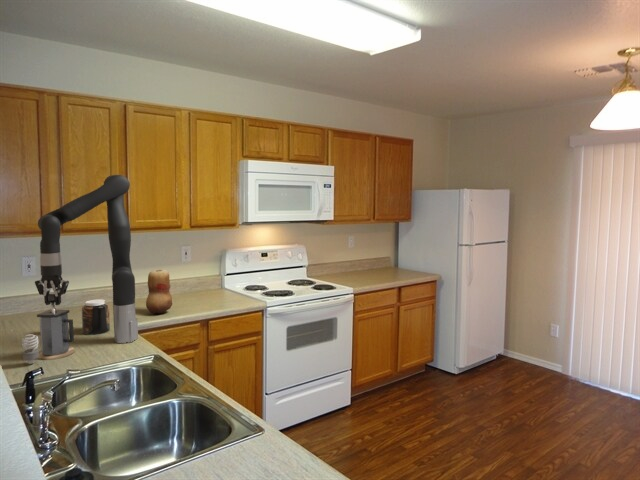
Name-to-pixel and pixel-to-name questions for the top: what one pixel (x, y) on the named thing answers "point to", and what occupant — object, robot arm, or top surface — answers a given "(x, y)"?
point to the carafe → (55, 332)
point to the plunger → (52, 301)
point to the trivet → (42, 357)
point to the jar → (95, 317)
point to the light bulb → (30, 353)
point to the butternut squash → (158, 291)
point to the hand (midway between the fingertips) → (52, 304)
